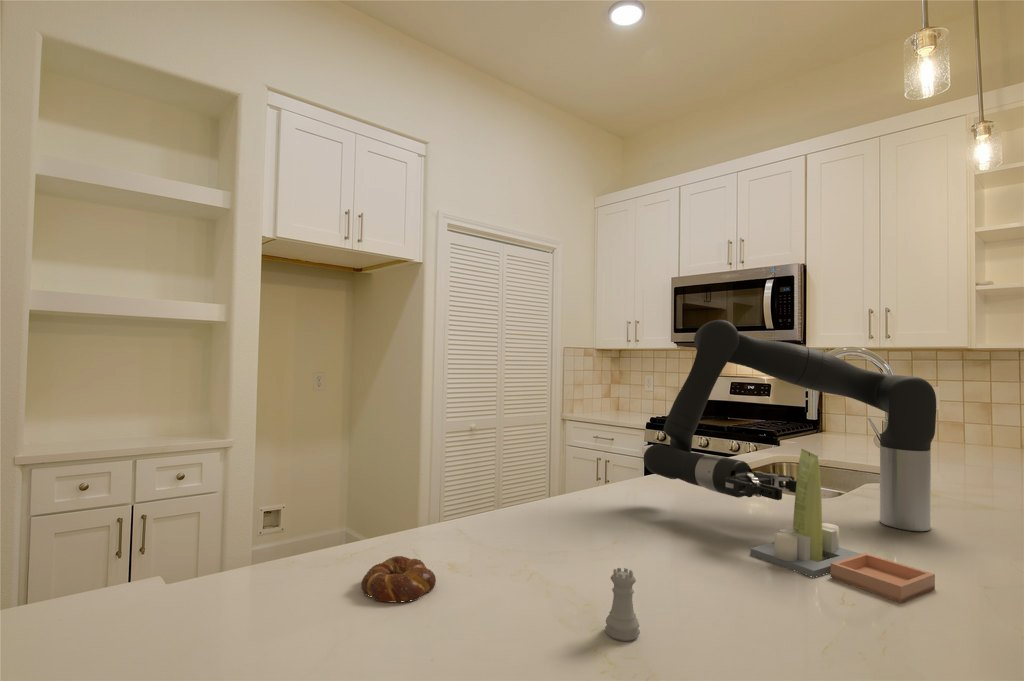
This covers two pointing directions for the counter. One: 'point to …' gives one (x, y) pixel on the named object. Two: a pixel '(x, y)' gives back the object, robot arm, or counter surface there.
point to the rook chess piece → (622, 608)
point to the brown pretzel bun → (398, 580)
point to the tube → (809, 503)
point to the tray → (883, 577)
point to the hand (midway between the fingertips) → (795, 492)
